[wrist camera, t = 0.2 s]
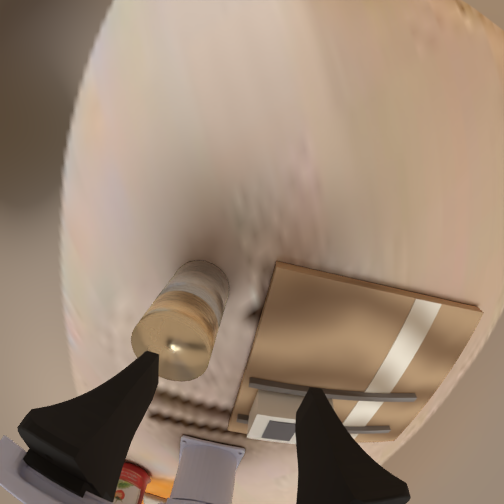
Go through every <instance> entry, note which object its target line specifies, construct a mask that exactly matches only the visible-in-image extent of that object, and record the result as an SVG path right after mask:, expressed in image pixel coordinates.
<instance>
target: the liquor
mask: <svg viewBox="0 0 504 504" xmlns="http://www.w3.org/2000/svg"><path fill="white" fill-rule="evenodd" d="M150 482H151V479H150V478H149V476H148V474H147V473H146V471H145V470H144V469H142V468H141V467H139V466H137V465H134V464H132V463H128V462H124V465H123V468H122V471H121V474H120V478H119V481H118V485H117V489H116V493H115V497H114V501H113V502H112V503H114V504H141V503H142V500H143V496H144V493H145V490H146V486H147V484H148V483H150Z"/></svg>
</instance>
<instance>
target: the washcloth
mask: <svg viewBox="0 0 504 504" xmlns="http://www.w3.org/2000/svg"><path fill="white" fill-rule="evenodd" d="M143 500H144V504H158V503H160V502H164V503H166V501H167V499H165V498H161V497H158V496H155V495H152V494H149V493H144V498H143Z"/></svg>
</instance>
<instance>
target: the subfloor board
mask: <svg viewBox="0 0 504 504" xmlns="http://www.w3.org/2000/svg"><path fill="white" fill-rule="evenodd" d="M482 315H483V312H482V311H481V310H480V309H479V308H478V307H476V306H471V305H467V304H462V303H458V302H453V301H449V300H445V299H440V298H436V297H431V296H427V295H423V294H418V293H414V292H409V291H405V290H401V289H396V288H392V287H388V286H383V285H379V284H374V283H370V282H366V281H361V280H357V279H353V278H348V277H344V276H340V275H335V274H331V273H327V272H322V271H318V270H314V269H309V268H305V267H301V266H296V265H292V264H288V263H283V262H279V261H276V264H275V268H274V271H273V275H272V278H271V282H270V286H269V289H268V293H267V296H266V300H265V303H264V307H263V310H262V314H261V317H260V321H259V324H258V328H257V331H256V335H255V338H254V341H253V345H252V348H251V352H250V355H249V358H248V362H247V365H246V368H245V372H244V375H243V378H242V381H241V385H240V388H239V391H238V394H237V398H236V401H235V404H234V407H233V410H232V414H231V417H230V420H229V424H228V430H229V431H234V432H239V433H245V434H247V430H248V420H249V413H250V411H251V408H252V405H253V403H254V400H255V398H256V395H257V392H258V390H259V389H261V390H267V391H273V392H280V393H286V394H293V395H301V396H305V395H306V393H307V391H308V389H309V388H310V387H313V388H321V389H322V390H323V392H324V394H325V395H326V397H327V398H328V399H332V401H333V406H334V411H335V412H336V414H337V416H338V417H339V419H340V420H341V422H342V424H343V425H344V427H345V428H346V429H347V431H348V432H349V433H350V435H351V436H352V437H353V439H354V440H355V441H356V442H383V441H394V440H395V439H396V438H397V437H398V436H399V435H400V434H401V433H402V432H403V431H404V429H405V428H406V427H407V426H408V425H409V424H410V423H411V421H412V420H413V419H414V418H415V417H416V416H417V414H418V413H419V412H420V411H421V409H422V408H423V407H424V406H425V404H426V403H427V402H428V401H429V399H430V398H431V397H432V395H433V394H434V393H435V391H436V390H437V389H438V387H439V386H440V385H441V383H442V382H443V380H444V379H445V377H446V376H447V374H448V373H449V372H450V370H451V368H452V367H453V365H454V364H455V362H456V361H457V359H458V358H459V356H460V354H461V353H462V351H463V349H464V348H465V346H466V344H467V343H468V341H469V339H470V337H471V336H472V334H473V332H474V330H475V328H476V327H477V325H478V323H479V321H480V319H481V317H482Z"/></svg>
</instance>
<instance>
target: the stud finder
mask: <svg viewBox="0 0 504 504" xmlns="http://www.w3.org/2000/svg"><path fill="white" fill-rule="evenodd" d="M304 397H305V396H301V395H293V394H286V393H280V392H273V391H267V390H261V389H259V390H258V392H257V395H256V398H255V400H254V403H253V405H252V408H251V411H250V413H249V420H248V430H247V438H250V439H257V440H264V441H272V442H280V443H290V444H296V435H295V422H296V412H297V410H298V408H299V406H300V404H301V403H302V401H303V399H304ZM327 399H328V398H327ZM328 401H329V402H330V404H331V406H332V407H333V409H334V406H333V401H332V399H328Z"/></svg>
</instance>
